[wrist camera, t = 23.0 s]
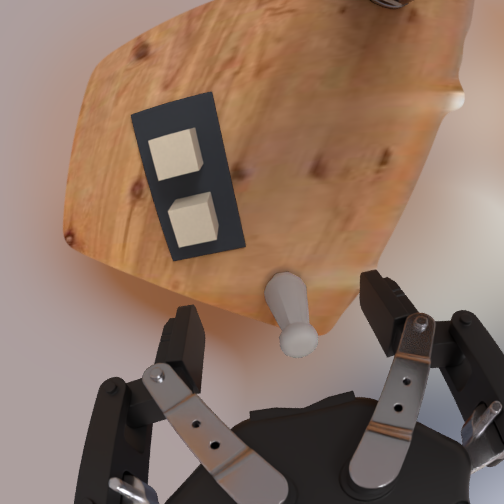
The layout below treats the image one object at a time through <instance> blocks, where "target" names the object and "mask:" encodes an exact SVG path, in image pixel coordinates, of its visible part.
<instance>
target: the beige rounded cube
mask: <svg viewBox="0 0 504 504" xmlns="http://www.w3.org/2000/svg"><path fill="white" fill-rule="evenodd" d="M148 143H149V146H150V150H151V154H152V158H153V162H154V166H155V169H156V173H157V177H158V180H159V181H160V180H164V179H168V178H171V177H175V176H179V175H183V174H187V173H191V172H195V171H199V170H200V168H201V167H202V165H203V159H202V155H201V151H200V146H199V142H198V138H197V134H196V129H195V128H191V129H187V130H183V131H180V132H176V133H172V134H169V135H165V136H162V137H159V138H155V139H152V140H149V141H148Z"/></svg>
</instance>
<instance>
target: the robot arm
mask: <svg viewBox="0 0 504 504" xmlns="http://www.w3.org/2000/svg"><path fill="white" fill-rule="evenodd" d="M371 1H372V2H374V3H376V4H378V5H380V6H383V7H386V8H400V7H403V6H405V5H407V4H408V3H409V2H412V1H414V0H371ZM360 306H361V309H362V311H363V313H364V315H365V316H366V318H367V320H368V322H369V324H370V326H371V328H372V329H373V331H374V333H375V335H376V337H377V339H378V341H379V343H380V345H381V347H382V349H383V350H384V352H385V354H386V356H387V357H390V356H393V355H395V356H394V359H393V363H392V365H391V368H390V371H389V374H388V377H387V380H386V382H385V385H384V388H383V391H382V393H381V396H380V398H379V401H377V400H375V399H371V398H365V397H355V395H354V392H353V391H350V392H346V393H342V394H338V395H334V396H331V397H327V398H325V399H323V400H321V401H319V402H317V403H314V404H312V405H310V406H307V407H305V408H269V409H262V410H255V411H250V418H249V419H247V420H245V421H242V422H241V423H239V424H237V425H235V426H234V427H233V428H232V429H229V428H228V427H227V426H226V425H225V424H224V423H223V422H222V421H221V420H220V419H219V418H218V416H217V415H216V414H214V412H213V411H212V410H211V409H210V408H209V407H208V406H207V405H206V404H205V403H204V402H203V401H202V399H201V398H200V397H199V396H198V395H197V394H199V393H201V381H202V369H203V359H204V348H205V332H204V328H203V326H202V323H201V320H200V318H199V315H198V313H197V310H196V307H195V306H194V305H188V306H181V307H178V309H177V313H176V317H175V318H170V319H169V321H168V322H167V323H166V325H165V326H164V328H163V332H162V336H161V340H160V341H161V342H160V343H159V347H158V351H157V355H156V359H155V363H154V365H152V366H150V367H148V368H147V369H146V371H145V372H144V374H143V376H142V378H140V379H138V380H135V381H132V382H129V383H125V381H124V380H123V379H121V378H119V377H113V378H109V379H107V380H106V381H104V382H103V383H102V385H101V386H100V388H99V391H98V394H97V398H96V401H95V405H94V409H93V412H92V416H91V420H90V424H89V428H88V432H87V437H86V441H85V445H84V450H83V455H82V460H81V464H80V469H79V475H78V481H77V486H76V493H75V500H74V504H159V502H158V496H157V493H156V491H155V490H154V489H153V488H152V487H151V486H149V485H148V472H149V471H148V470H149V458H150V446H151V437H152V436H151V435H152V427H153V423H155V422H158V421H161V420H165V419H167V420H168V422H169V423H170V424H171V426H172V427H173V428H174V430H175V431H176V432H177V434H178V435H179V436H180V438H181V439H182V440H183V442H184V443H185V444H186V445H187V447H188V448H189V449H190V450H191V452H192V453H193V454H194V455H195V457H196V458H197V459H198V460H199V461H200V463H201V464H200V465H199V466H198V467H197V468H196V469H195V471H194V472H193V473H192V474H191V475H190V476H189V477H188V478H187V479H186V481H185V482H184V483H183V484H182V485H181V486H180V487H179V488H178V489H177V491H175V492H174V494H173V495H172V496H171V497H170V498H169V499H168V500H167V501H166V502H165V504H470V501H469V481H470V475H471V474H473V473H475V472H476V471H478V470H480V469H482V468H483V467H485V466H487V467H493V466H496V465H497V464H499V463H500V462H501V461H502V460H504V354H503V353H502V351H501V350H500V348H499V347H498V345H497V344H496V342H495V341H494V340H493V338H492V337H491V335H490V334H489V333H488V331H487V330H486V328H485V327H484V326H483V324H482V323H481V322H480V320H479V319H478V318H477V317H476V315H474V314H473V313H471V312H469V311H465V310H461V311H457V312H455V313H454V314H453V316H452V319H451V321H434V319H433V318H432V317H431V316H429V315H427V314H425V313H419V312H418V311H417V309H416V308H415V307H414V305H413V304H412V303H411V301H410V300H409V299H408V297H407V296H406V295H405V294H404V292H403V291H402V290H401V288H400V287H399V286H398V284H397V283H396V282H395V281H393V280H391V279H390V278H388V277H386V278H382V276H381V275H380V274H379V272H378V271H377V270H371V271H367V272H362V273H361V275H360ZM430 368H439V369H440V371H441V373H442V375H443V377H444V379H445V381H446V383H447V385H448V387H449V389H450V391H451V393H452V395H453V397H454V399H455V401H456V404H457V406H458V408H459V410H460V412H461V415H462V417H463V419H464V421H465V423H464V425H463V427H462V430H461V436H462V445H461V444H460V443H458V442H457V441H455V440H453V439H451V438H449V437H446V436H445V435H442V434H441V433H439V432H436V431H435V430H433V429H431V428H429V427H427V426H425V425H423V424H421V423H419V422H417V421H416V420H417V418H418V414H419V410H420V407H421V404H422V400H423V396H424V392H425V388H426V384H427V380H428V375H429V370H430Z"/></svg>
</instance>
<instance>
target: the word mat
mask: <svg viewBox="0 0 504 504" xmlns="http://www.w3.org/2000/svg"><path fill="white" fill-rule="evenodd" d="M131 118H132V123H133V127H134V131H135V135H136V139H137V143H138V147H139V151H140V155H141V158H142V162H143V166H144V170H145V173H146V177H147V180H148V184H149V187H150V191H151V194H152V197H153V201H154V204H155V207H156V211H157V214H158V217H159V220H160V223H161V226H162V229H163V233H164V236H165V239H166V242H167V245H168V248H169V250H170V253H171V256H172V259H173V261H177V260H182V259H187V258H192V257H197V256H202V255H207V254H212V253H217V252H222V251H227V250H232V249H237V248H242V247H246V245H245V240H244V236H243V231H242V227H241V222H240V217H239V213H238V208H237V204H236V199H235V195H234V190H233V186H232V181H231V177H230V172H229V167H228V163H227V158H226V154H225V149H224V145H223V140H222V135H221V131H220V126H219V121H218V117H217V112H216V108H215V103H214V98H213V94H212V92H207V93H203V94H199V95H195V96H191V97H187V98H183V99H180V100H176V101H173V102H169V103H166V104H162V105H159V106H156V107H153V108H150V109H147V110H144V111H141V112H138V113H135V114H132V115H131ZM191 128H195V129H196V134H197V138H198V142H199V146H200V151H201V155H202V159H203V165H202V167H201V168H200V170H199V171H195V172H191V173H187V174H183V175H179V176H175V177H171V178H168V179H164V180H160V181H159V180H158V177H157V173H156V169H155V166H154V162H153V158H152V154H151V150H150V146H149V143H148V141H149V140H152V139H155V138H159V137H162V136H165V135H169V134H172V133H176V132H180V131H183V130H187V129H191ZM206 192H211V196H212V200H213V204H214V208H215V212H216V216H217V220H218V224H219V227H218V235H217V240H213V241H208V242H203V243H198V244H194V245H189V246H184V247H179V246H178V243H177V239H176V236H175V233H174V230H173V227H172V224H171V220H170V217H169V214H168V210H169V209H170V207H171V206H172V204H173V203H174V201H175V200H176V199H180V198H184V197H189V196H193V195H197V194H201V193H206Z"/></svg>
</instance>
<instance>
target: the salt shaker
mask: <svg viewBox="0 0 504 504" xmlns="http://www.w3.org/2000/svg"><path fill="white" fill-rule="evenodd" d="M264 295H265V301H266V302H267V304H268V306H269V308H270V310H271V312H272V314H273V315H274V317H275V319H276V321H277V323H278V325H279V326H280V328H281V330H282V332H281V334H280V337H279V339H280V347H281V349H282V351H283V352H284V354H285V355H287V356H290V357H293V358H302V357H304V356H307V355H309V354H310V353H312V352H313V351H314V350H315V348H316V347H317V345H318V334H317V332H316V330H315V329H314V327H313V326H312V325H311V324H309V312H308V301H307V291H306V285H305V284H304V282H303V281H302V280H301V278H300V277H298V276H296V275H294V274H292V273H290V272H282V273H276V274H275V275H274V277H273V278H272V279H271V280H270V281H269V282H268V284H267V286H266V288H265V290H264Z"/></svg>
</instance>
